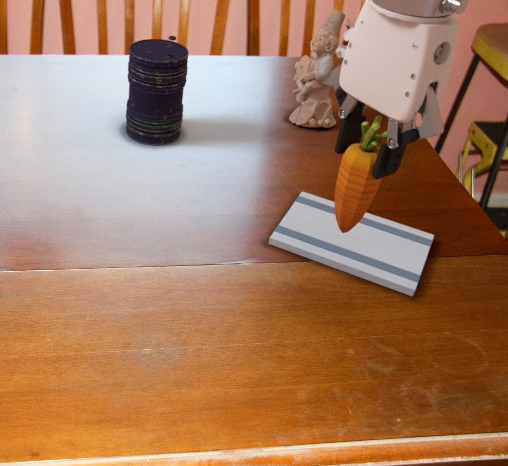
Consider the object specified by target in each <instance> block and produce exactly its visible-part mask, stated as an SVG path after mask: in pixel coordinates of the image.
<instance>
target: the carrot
mask: <svg viewBox="0 0 508 466" xmlns="http://www.w3.org/2000/svg"><path fill="white" fill-rule="evenodd" d="M382 120H383V116H382V115H375V116H374V118H373V121H372V124H371V125H370V123H369V121H367V120H366V122H363V123H362V125H361V127H362V138H363V142H360V143H355V144H351V145H349V146H348V148H347V150H346V151H345V153H343V154H342V157H341V160H340V164H339V168H338V173H337V176H336V177H337V178H336V181H335V188H334V189H335V190H334V202H335V204H334V210H335V216H336V221H337V224H338V227H339V229H340V230H341V232H342V233H346V232H349V231H350V230H351V229H352V228H353V227H355V226H356V225H357V224H358V222H359V221H360V220H361V219H362V218H363V216H364V214H365V213H367V211H368V210H369V208H370V206H371V204H372V202H373V200H374V198H375V196H376V194H377V192H378V189H379V187H380V185H381V182H382V179H383V178H380V179H375V178H374V177H372V171H373V168H374V165H375V162H376V159H377V155H378V152H379V149H380V146H378V145H379V144H380V143H381V142H382V141H383V140H385V139H387V133H388V130H385V131H384V132H383V133H381V134H378V131H379V130H380V128H381V127H382V126H381V123H382Z"/></svg>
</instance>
